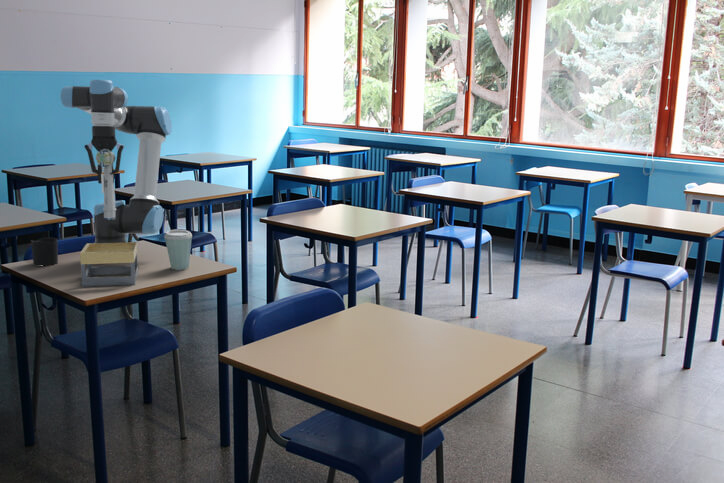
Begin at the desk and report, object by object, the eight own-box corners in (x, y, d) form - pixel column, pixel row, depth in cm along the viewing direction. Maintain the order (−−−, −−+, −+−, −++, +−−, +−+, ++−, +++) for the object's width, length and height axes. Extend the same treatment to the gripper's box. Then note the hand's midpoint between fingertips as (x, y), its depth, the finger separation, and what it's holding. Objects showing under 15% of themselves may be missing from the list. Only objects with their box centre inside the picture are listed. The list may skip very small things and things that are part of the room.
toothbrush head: (119, 218, 241) (119, 149, 236) (107, 221, 234) (107, 149, 230) (107, 217, 242) (107, 147, 237) (95, 219, 236) (94, 148, 231)
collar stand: (88, 275, 249) (86, 243, 247) (137, 273, 253) (136, 242, 251) (82, 286, 232) (80, 253, 230) (135, 284, 237) (133, 251, 235)
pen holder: (59, 266, 262) (57, 241, 260) (32, 268, 258) (31, 242, 256) (58, 261, 271) (56, 237, 269) (32, 263, 266) (30, 238, 264)
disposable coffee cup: (199, 268, 263) (198, 231, 260) (178, 273, 254) (176, 234, 251) (180, 264, 269) (179, 228, 266) (159, 269, 260) (158, 231, 257)
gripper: (79, 125, 227) (83, 194, 231) (124, 125, 231) (127, 193, 235) (82, 124, 234) (86, 191, 239) (126, 125, 238) (129, 191, 242)
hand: (106, 192), depth 237 cm, fingers closed on toothbrush head, 1 cm apart
